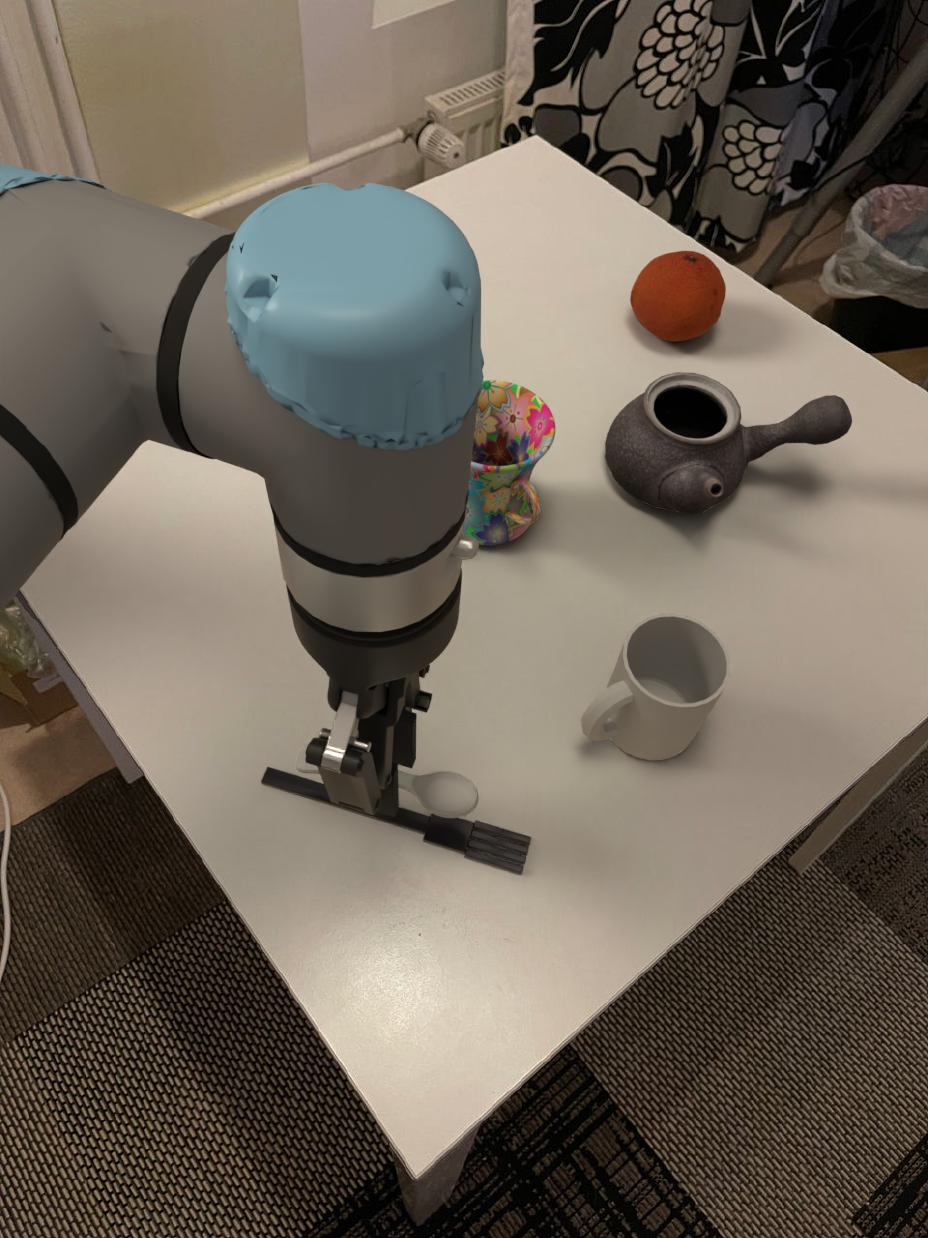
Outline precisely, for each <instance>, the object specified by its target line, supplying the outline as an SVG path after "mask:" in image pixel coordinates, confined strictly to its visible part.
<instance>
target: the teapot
mask: <svg viewBox="0 0 928 1238" xmlns="http://www.w3.org/2000/svg"><path fill="white" fill-rule="evenodd" d="M844 399H845V398H844ZM844 399H843V397H840V396H839V395H836V394H834V395H833V394H832V395H831V394H830V395H824V396H820V397H817V398H815V399H812V400H810V401H808V402H806V403H804V404H803V405H802V406H801V407H800V408H799V409H798V410H796V411H794V413H793V414H791V415H790V416H788V417H787V418H785V419H783V420H781V421H779V422H776V423H771V424H757V425H750V426H745V425H743V424H741V421H742V409H741V405H740V403H739V401H738V399H737V397H735V395H734V393H733V392H732V390H730V389H729V388H728V387H727V386H726V385H724V384H723V383H721V382H720V381H718V380H716V379H714V378H711V377H709V376H707V375H704V374H700V373H697V372H672V373H668V374H665V375H661V376H660V377H658V378H656V379H655V380H653V381H652V382H650V383H649V384H648V385H647V387H646V389H645V391H644V392H642V393H641V394H639V395H637V396H636V397H635V398H634V399H632V400H631V401H629V402H628V403H627V404H626V405H625V406H624V407H622V409H621V410H620V411H619V412H618V414H617V415H616V416H615V417H614V419H613V420H612V422H611V424H610V426H609V429H608V432H607V433H606V438H605V442H604V443H605V444H604V445H605V447H604V450H605V451H604V452H605V454H604V455H605V456H604V458H605V461H606V466H607V467H608V470H609V472H610V474H611V476H612V478H613V480H614V481H615V482H616V483H617V485H619V486H620V487H621V489H622V490H623V491H624V492H625V493H627V494H628V495H630V496H631V497H632V498H634V499H635V500H638V501H640V502H642V503H643V504H646V505H648V506H651V507H652V508H656V509H660V510H665V511H670V512H674V513H679V514H682V515H686V516H696V515H702V514H703V513H705V512H707V511H708V510H710V509H711V508H714V507H715V506H718V505H719V504H722V503H724V502H725V501H726V500H727V499H729V498H730V497H732V495H733V494H735V492H736V491H737V490H738V488H739V487H740V485H741V483H742V481H743V480H744V476H745V473H746V470H747V468H748V466H749V463H751V462H753V461H756V460H758V459H761V458H762V457H764V456H765V455H766V454H767V453H769V452H771V451H773V450H775V449H776V448H778V447H780V446H783V445H785V444H808V445H813V446H819V445H820V446H821V445H827V444H830V443H833V442H834V441H837V440H840V439H841V438H842V437H844V436H845V435H847V434H848V432H849V431H850V429H851V427H852V424H853V417H852V414H851V410H850V408H849V406H848V404H847V402H846V401H845V400H844Z"/></svg>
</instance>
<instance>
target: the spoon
mask: <svg viewBox="0 0 928 1238" xmlns="http://www.w3.org/2000/svg"><path fill="white" fill-rule="evenodd" d="M308 745H309V743H307V744H304V745H302V746H301V748H300V749H299V750H298V753H297V756H296V759H295V762H294V765H295V770H296V771H297V772H299V773H303V774H309V775H310V774H311V775H320V773H319V770H318V768H317V766H315V765H311V764H308V763H306V761H305V759H306V754H305V752H306V748H307V746H308ZM398 786H399V789H401V790H404V791H406V792H408V793H410V794H412V795H413V796H414V797H415V799H416V800H417V801H418V803H420V805H421V806H422V807H423V809H425V810H426V811H428V812H429V813H431V814H434V815H437V816H440V817H444V818H462V817H465V816H468V815H470V814H471V813H472V812H473V811H474V810H476V808H477V806H478V804H479V801H480V800H479V799H480V796H479V791H478V788H477V787H476V785H475V784H474V783H473V781H471V780H470V779H469V778H468V777H466V776H465V775H463V774H461V773H458V772H455V771H451V770H437V771H433V772H430V773H426V774H414V773H409V772H405V771H401V770H399V769H398Z"/></svg>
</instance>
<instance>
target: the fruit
mask: <svg viewBox="0 0 928 1238" xmlns="http://www.w3.org/2000/svg"><path fill="white" fill-rule="evenodd" d="M726 291H727V288H726V282H725V279H724V277H723V275H722V272H721V270H720V269H719V267H718V266H717V265H716V264H715V262H714V261H713V260H712V259H711V258H710V257H708V256H707V255H705V254H704V253H700V252H697V251H695V250H679V251H673V252H668V253H664V254H661V255H659V256H657V257H654V258H653V259H651V260H650V261H649V262H648V263H647V264H646V265H645V266H644V267H643V269H642V270H640V272H639V274H638V275H637V278H636V279H635V282H634V283H633V285H632V289H631V292H630V298H629V299H630V300H629V301H630V306H631V308H632V311H633V314H634V316H635V319H637V321H638V323H640V324H641V326H642V327H643V328H644V329H645V330H646V331H648V332H649V333H650V334H652V335H653V336H655V337H657V338H659V339H660V340H662V341H667V342H683V341H688V340H691V339H695V338H698V337H700V336H702V335H703V334H706V333H707V332H708V331H709V330H710V329H711V328H713V326H714V325H715V324H717V322H718V321H719V319H720V318H721V314H722V309H723V305H724V302H725V299H726V293H727V292H726Z"/></svg>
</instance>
